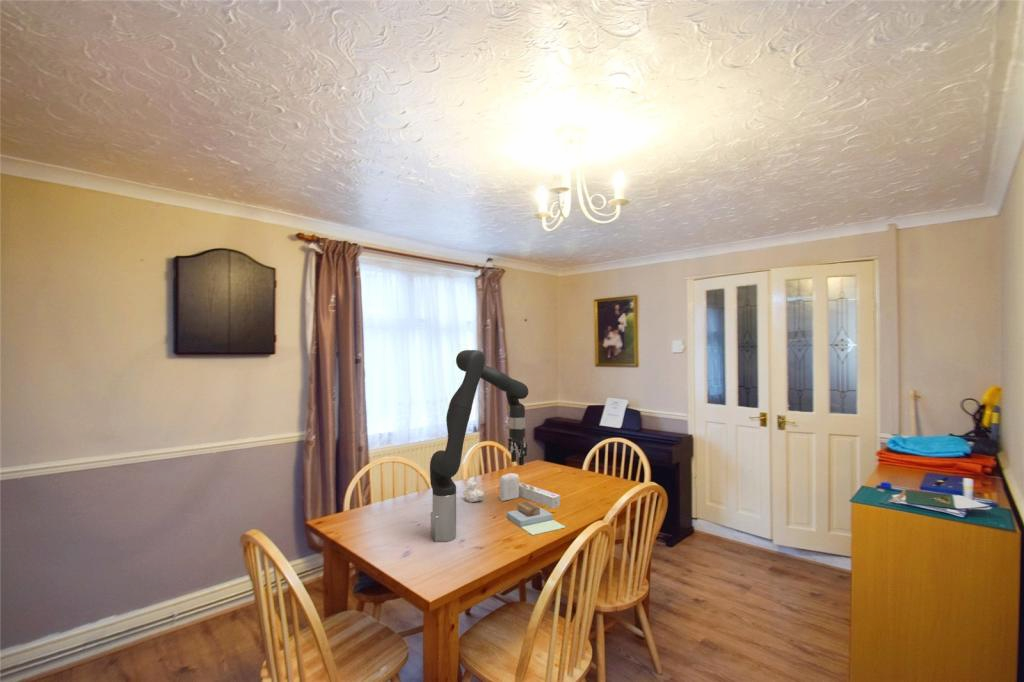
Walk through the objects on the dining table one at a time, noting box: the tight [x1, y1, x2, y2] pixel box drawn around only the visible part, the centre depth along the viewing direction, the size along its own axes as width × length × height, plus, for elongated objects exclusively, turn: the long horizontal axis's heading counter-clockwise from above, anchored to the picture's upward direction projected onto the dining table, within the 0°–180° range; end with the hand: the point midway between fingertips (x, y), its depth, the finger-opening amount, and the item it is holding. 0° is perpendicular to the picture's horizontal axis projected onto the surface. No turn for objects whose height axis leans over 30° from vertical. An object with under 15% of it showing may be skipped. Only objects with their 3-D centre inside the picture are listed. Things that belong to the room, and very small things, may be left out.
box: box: [519, 482, 561, 509], centre depth 216 cm, size 27×5×6 cm, turn 42°
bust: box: [462, 480, 485, 503], centre depth 214 cm, size 12×8×11 cm
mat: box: [520, 519, 566, 536], centre depth 181 cm, size 16×9×1 cm, turn 119°
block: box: [516, 501, 540, 517], centre depth 192 cm, size 6×9×3 cm, turn 29°
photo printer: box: [499, 472, 520, 502], centre depth 218 cm, size 10×4×12 cm, turn 123°
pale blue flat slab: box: [506, 505, 554, 528], centre depth 191 cm, size 16×12×2 cm
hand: (517, 463), depth 201 cm, fingers open, 6 cm apart
